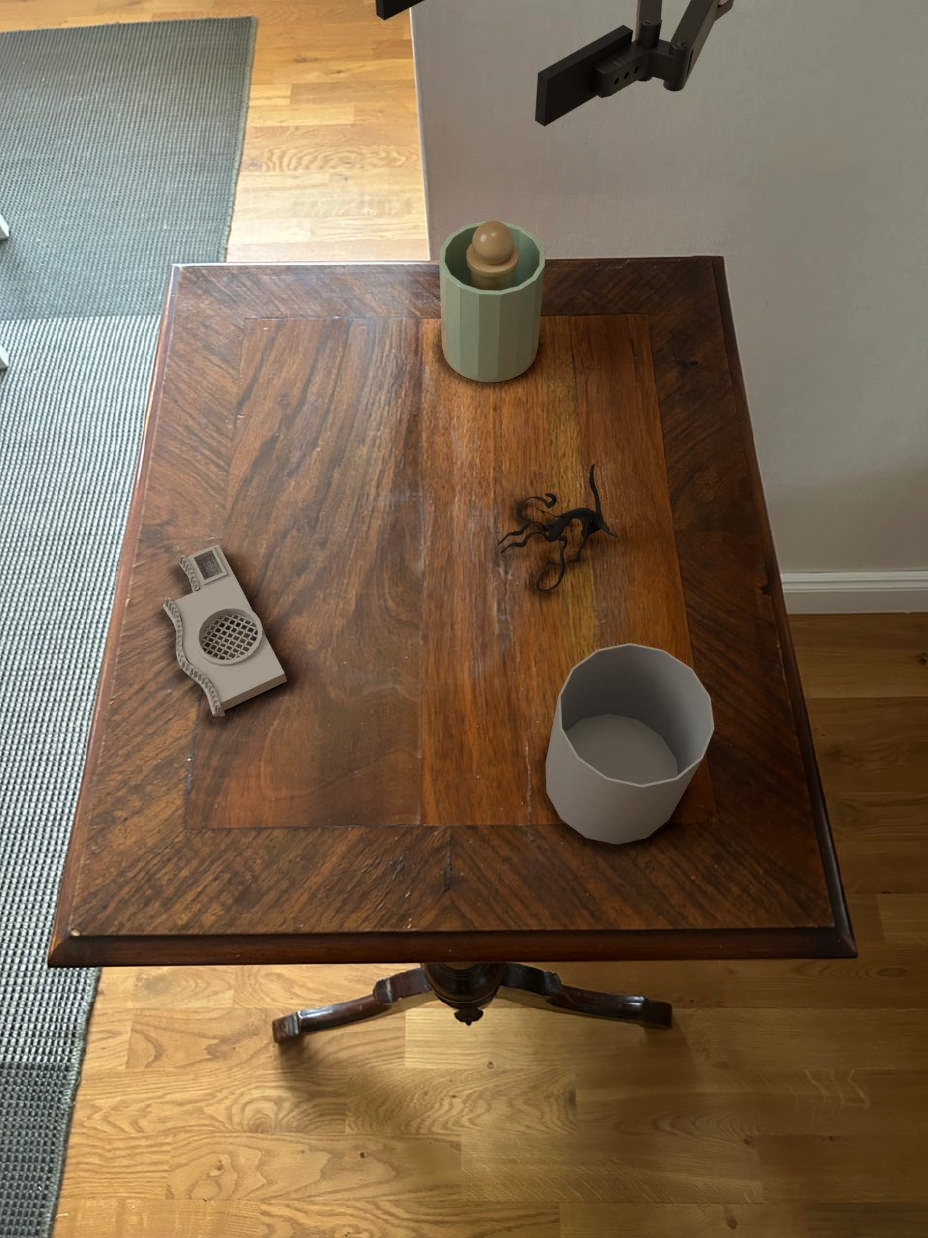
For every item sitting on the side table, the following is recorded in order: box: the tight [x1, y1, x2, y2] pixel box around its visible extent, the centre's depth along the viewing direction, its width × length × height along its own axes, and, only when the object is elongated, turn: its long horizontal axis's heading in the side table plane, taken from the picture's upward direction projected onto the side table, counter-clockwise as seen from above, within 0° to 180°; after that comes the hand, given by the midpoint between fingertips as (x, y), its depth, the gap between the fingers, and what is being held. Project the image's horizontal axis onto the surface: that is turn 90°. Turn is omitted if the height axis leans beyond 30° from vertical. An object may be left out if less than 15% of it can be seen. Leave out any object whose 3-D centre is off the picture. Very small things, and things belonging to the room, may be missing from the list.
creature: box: [497, 463, 619, 592], centre depth 69 cm, size 8×5×8 cm
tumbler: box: [438, 220, 546, 383], centre depth 77 cm, size 8×8×9 cm
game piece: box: [466, 220, 519, 291], centre depth 76 cm, size 4×4×11 cm
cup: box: [545, 642, 715, 845], centre depth 59 cm, size 8×8×10 cm
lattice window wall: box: [162, 543, 288, 718], centre depth 67 cm, size 12×2×6 cm
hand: (455, 45), depth 57 cm, fingers open, 13 cm apart
